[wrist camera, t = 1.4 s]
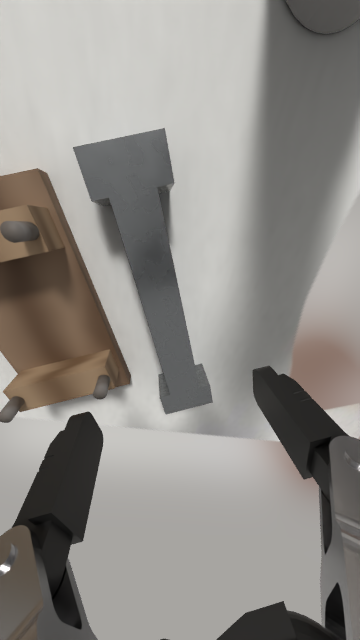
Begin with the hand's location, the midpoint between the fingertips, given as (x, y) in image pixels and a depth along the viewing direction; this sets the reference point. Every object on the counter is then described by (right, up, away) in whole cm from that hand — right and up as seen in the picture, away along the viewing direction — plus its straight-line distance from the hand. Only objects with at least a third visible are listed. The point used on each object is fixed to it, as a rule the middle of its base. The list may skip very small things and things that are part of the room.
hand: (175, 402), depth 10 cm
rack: (-14, +5, +11) cm, 18 cm away
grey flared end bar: (-2, +6, +13) cm, 14 cm away
